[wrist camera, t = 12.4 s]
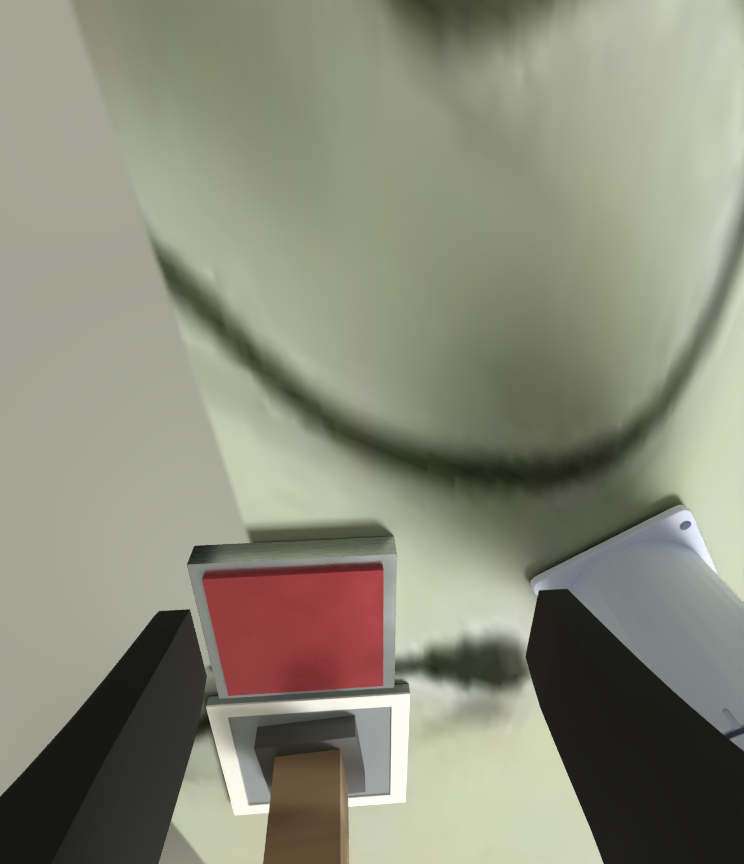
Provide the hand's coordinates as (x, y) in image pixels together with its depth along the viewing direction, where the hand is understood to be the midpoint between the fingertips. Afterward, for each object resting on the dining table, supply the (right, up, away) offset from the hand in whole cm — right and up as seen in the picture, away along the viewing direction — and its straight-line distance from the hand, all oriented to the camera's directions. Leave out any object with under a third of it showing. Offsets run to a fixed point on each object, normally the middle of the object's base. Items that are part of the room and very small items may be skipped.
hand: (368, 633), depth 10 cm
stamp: (-3, -14, +18) cm, 24 cm away
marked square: (-3, -15, +19) cm, 25 cm away
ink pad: (-3, -5, +14) cm, 15 cm away
